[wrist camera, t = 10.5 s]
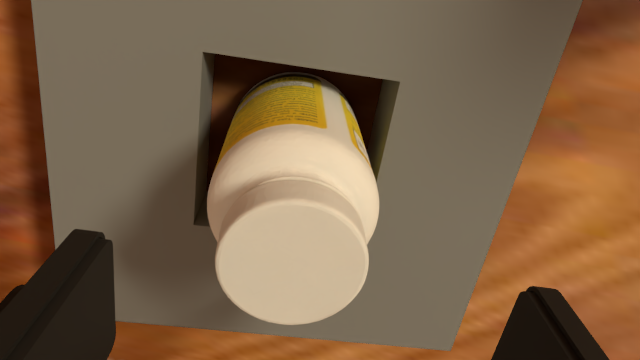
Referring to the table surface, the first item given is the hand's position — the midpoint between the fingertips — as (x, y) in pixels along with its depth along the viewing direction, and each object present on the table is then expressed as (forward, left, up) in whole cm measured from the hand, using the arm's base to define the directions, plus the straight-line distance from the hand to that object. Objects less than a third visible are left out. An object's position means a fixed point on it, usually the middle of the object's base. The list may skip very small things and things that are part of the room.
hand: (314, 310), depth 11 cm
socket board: (+1, 0, -11) cm, 11 cm away
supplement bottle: (0, 0, -11) cm, 11 cm away
